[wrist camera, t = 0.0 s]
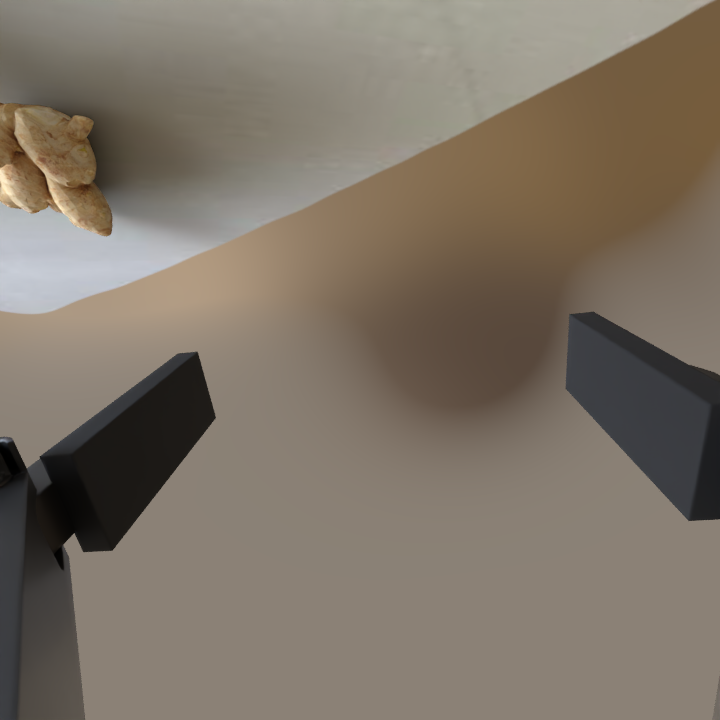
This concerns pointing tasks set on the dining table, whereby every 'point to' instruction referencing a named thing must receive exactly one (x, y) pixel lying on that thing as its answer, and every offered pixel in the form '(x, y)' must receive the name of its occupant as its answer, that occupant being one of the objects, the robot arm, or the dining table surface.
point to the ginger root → (50, 165)
